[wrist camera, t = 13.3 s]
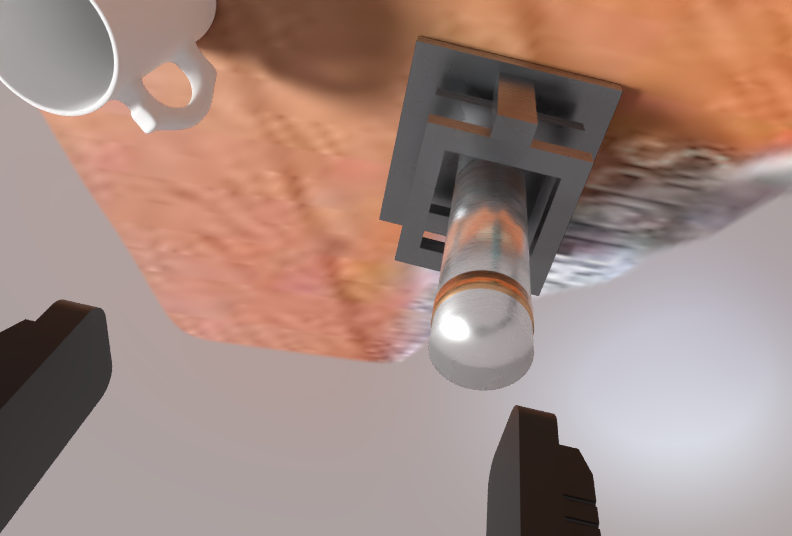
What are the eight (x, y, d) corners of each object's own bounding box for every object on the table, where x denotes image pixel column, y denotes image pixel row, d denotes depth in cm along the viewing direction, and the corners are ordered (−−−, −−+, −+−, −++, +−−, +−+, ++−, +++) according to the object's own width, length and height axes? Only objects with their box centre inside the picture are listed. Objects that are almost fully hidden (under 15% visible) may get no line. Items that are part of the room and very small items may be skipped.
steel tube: (533, 138, 38) (550, 325, 23) (513, 197, 40) (516, 401, 25) (467, 122, 38) (441, 297, 23) (451, 182, 40) (417, 376, 25)
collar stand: (619, 84, 36) (645, 138, 30) (551, 253, 43) (558, 327, 36) (418, 35, 37) (398, 77, 30) (382, 211, 43) (358, 277, 37)
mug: (90, -22, 38) (-59, 23, 28) (158, -102, 35) (18, -83, 25) (211, 111, 41) (117, 193, 31) (282, 49, 38) (203, 118, 28)
